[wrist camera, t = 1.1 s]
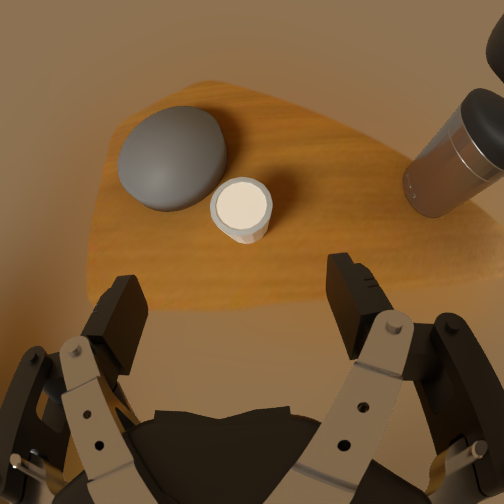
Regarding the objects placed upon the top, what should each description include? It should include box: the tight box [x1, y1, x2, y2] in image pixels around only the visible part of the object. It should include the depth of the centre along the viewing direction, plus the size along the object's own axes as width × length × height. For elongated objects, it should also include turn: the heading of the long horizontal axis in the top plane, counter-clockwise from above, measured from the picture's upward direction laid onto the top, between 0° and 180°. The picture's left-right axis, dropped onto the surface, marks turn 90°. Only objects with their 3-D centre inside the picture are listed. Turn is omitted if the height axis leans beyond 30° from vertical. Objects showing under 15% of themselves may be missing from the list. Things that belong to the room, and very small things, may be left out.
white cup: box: [210, 177, 273, 244], centre depth 33 cm, size 7×7×7 cm
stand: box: [118, 106, 227, 212], centre depth 37 cm, size 16×16×4 cm
